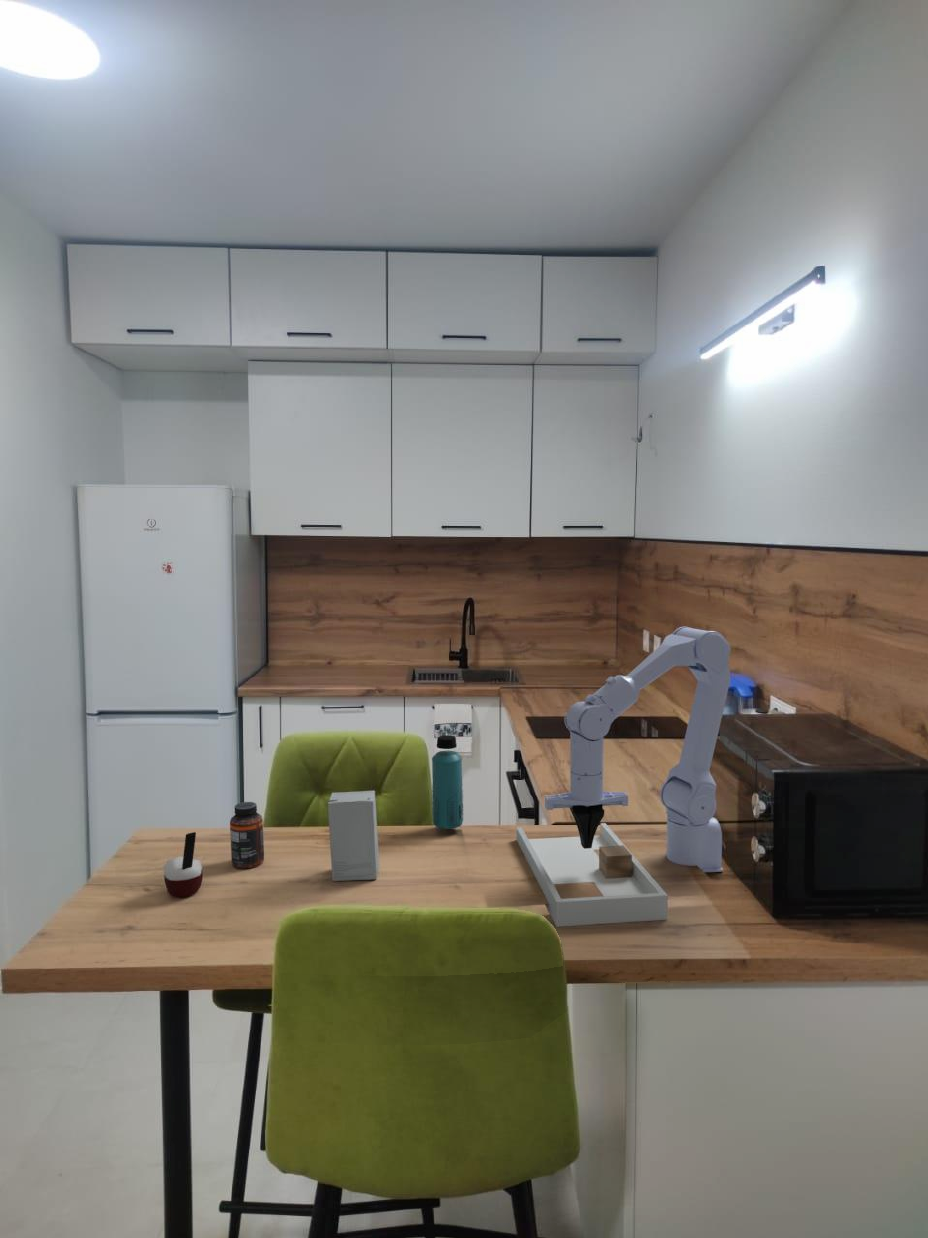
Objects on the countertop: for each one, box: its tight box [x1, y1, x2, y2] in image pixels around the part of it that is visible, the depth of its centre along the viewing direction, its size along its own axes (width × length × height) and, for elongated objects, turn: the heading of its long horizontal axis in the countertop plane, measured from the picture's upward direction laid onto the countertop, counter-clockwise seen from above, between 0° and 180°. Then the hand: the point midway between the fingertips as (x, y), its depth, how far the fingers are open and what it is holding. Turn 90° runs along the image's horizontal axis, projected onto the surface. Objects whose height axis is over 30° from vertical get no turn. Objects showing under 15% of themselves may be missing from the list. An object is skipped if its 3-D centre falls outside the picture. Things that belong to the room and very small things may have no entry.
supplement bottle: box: [229, 801, 265, 869], centre depth 149 cm, size 6×6×11 cm
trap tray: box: [516, 822, 669, 928], centre depth 141 cm, size 18×33×4 cm, turn 7°
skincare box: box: [327, 790, 380, 882], centre depth 143 cm, size 8×6×15 cm
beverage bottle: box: [431, 735, 464, 830], centre depth 165 cm, size 6×7×20 cm
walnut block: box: [598, 844, 633, 879], centre depth 140 cm, size 4×4×4 cm
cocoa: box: [163, 831, 204, 899], centre depth 136 cm, size 10×6×12 cm, turn 16°
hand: (586, 846), depth 140 cm, fingers closed
